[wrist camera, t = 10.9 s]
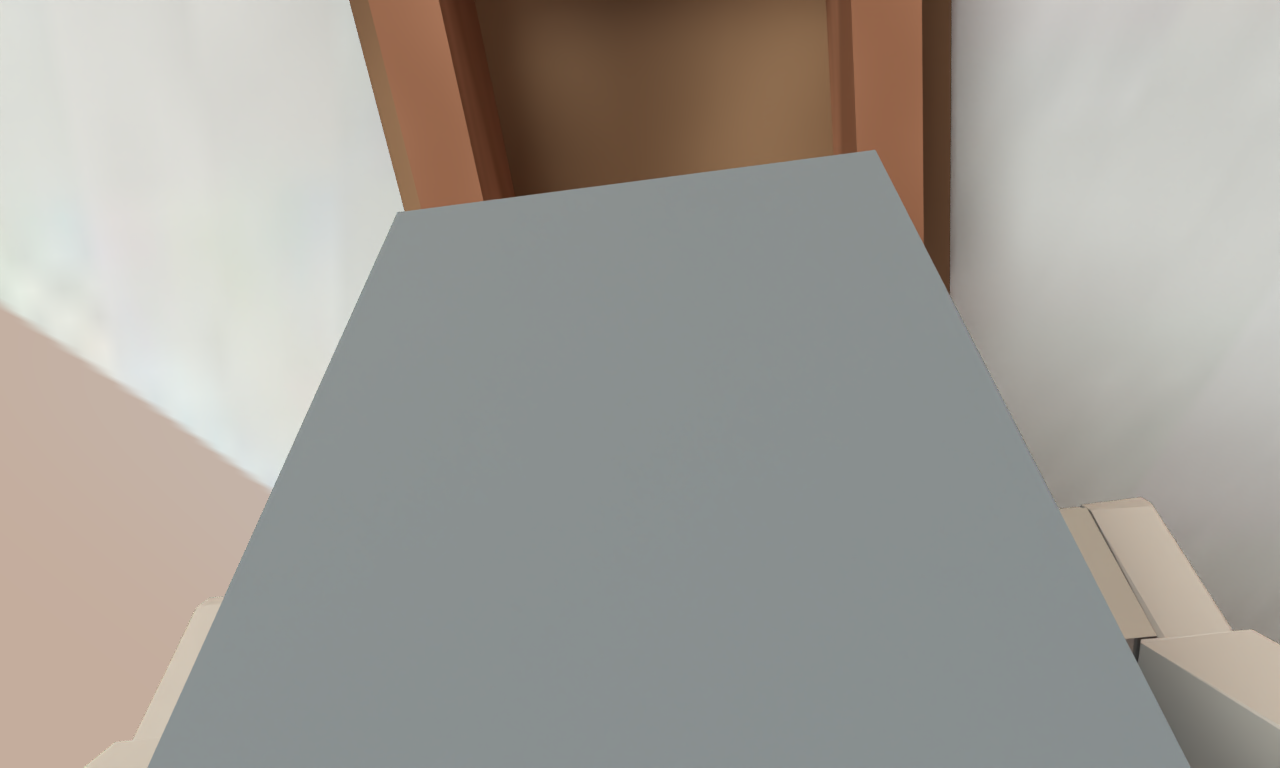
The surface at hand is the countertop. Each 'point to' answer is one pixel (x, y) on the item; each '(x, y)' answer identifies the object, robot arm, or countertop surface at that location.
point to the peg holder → (658, 93)
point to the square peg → (664, 510)
